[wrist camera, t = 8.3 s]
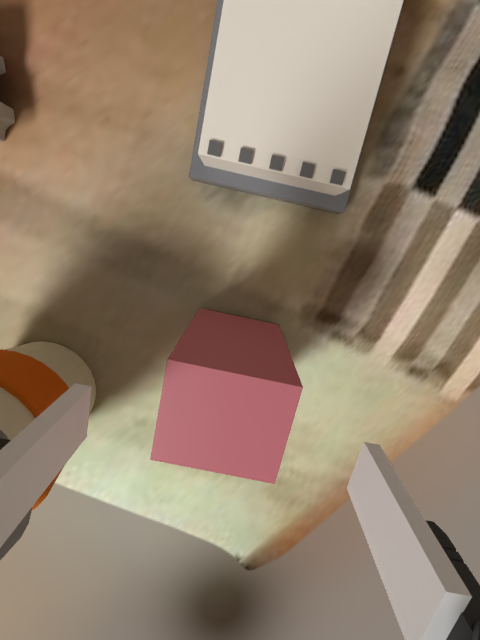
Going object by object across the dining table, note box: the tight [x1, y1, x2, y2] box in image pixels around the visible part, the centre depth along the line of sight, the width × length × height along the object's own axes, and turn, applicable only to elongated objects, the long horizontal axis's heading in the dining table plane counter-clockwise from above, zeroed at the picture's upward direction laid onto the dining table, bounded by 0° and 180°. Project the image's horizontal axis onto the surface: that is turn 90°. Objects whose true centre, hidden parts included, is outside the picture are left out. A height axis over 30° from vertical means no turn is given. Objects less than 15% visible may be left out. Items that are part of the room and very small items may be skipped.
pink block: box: [150, 308, 303, 484], centre depth 23 cm, size 6×7×12 cm
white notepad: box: [189, 0, 404, 214], centre depth 21 cm, size 17×12×5 cm
